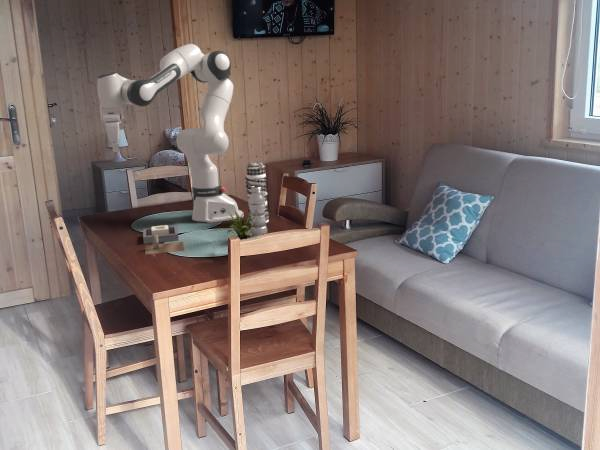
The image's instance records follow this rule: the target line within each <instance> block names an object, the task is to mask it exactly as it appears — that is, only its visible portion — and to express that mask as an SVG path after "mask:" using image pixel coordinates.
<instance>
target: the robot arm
mask: <svg viewBox="0 0 600 450" xmlns="http://www.w3.org/2000/svg"><path fill="white" fill-rule="evenodd" d="M231 61H232V60H231V58H230V55H228V54H227V52H226V51H222V50H214V51H212V52H210V53H209V52H208V53H207V54H204V53H203V52H202V50H201V49H200V47H199V46H198V45H196V44H193V43H188V44H184V45H181V46H179V47H177V48H175V49H173V50H171V51H169V52H168V53H167V54H165V55H164V56H163V57H162V58H161V59H160V61H159V69H160V71H159V72H157V73H155V74H154V75H152V76H151V77H149V78H148V79H139V80H138V79H137V80H135V79H133V80H132V79H129V78H126V77H124V76H121V75H120V74H118V73H117V72H115V71H111V72H106V73H102V74H101V75H99V76H98V78H97V82H96V84H97V85H96V87H97V96H98V100H99V113H100V116H99V117H100V120H101V121H102V122H103V123H104V126H105V131H106V135H107V140H108V142H111V147H112V152H113V153H118V151H119V149H120V145H119V141H120V140H119V139H120V137H121V129H120V124H122V120H124V119H125V117H124V116H125V115H124V105H131V106H138V107H147V106H148V105H151V104H152V103H153V101H154V100H155V98H156V97H157V95H159V94H160V92H162V91H163V90H164V89H166V88H167V87H169V86H170V85H172V84H173V83H174V82H175V81H177V80H179V79H181V78H184V77H185V76H187V74H189V73H190V74H191V76H192V77H193V78H194V79H195V80H196V81H197V82H199V83H207V84H208V85H207V86H208V88H207V91H206V93H205V96H204V98H203V101H202V104H201V107H200V109H199V116H200V118H201V119H202V121H203V125H202V127H201V128H196V127H194V128H193V127H190V128H185V129H182V130H180V131H179V132H178V134H177V136H176V146H177V148H178V149H179V151H181V152H182V153H183V155H184V156H185V158H186V160H187V162H188V165H189V168H190V171H191V179H192V180H191V181H192V187H191V193H192V199H193V211H192V216H191V220H192V221H194V222H203V223H209V224H210V223H217V222H225V221H228V220H229V221H231V220H232V221H233V219H232V217H231V216H230V215H229V214H228V213H230V214H231V215H232V216H233V218H234V220H237V218H236V213H235V211H236V212H237V214H238V215H239V216H240V217H241V216H242V218H243V217H244V215H245V213H244V212H243V211H242V210H240V209H239V207H238V203H237V201H235V199H233V198H232V197H230V196H229V195H227V194H226V193H225V192H226V187H224V186H222V185H220V184H219V173H218V168H217V165H216V164H214V163H213V162H212V160H211V158H210V157H209V156H217V155H220V154H222V155H223V154H224V153H226V151H227V150H228V149H229V146H230V145H229V144H230V143H229V142H230V140H229V137H228V135H227V133H226V132H225V127H224V126H225V125H224V124H225V120H226V117H227V113H228V110H229V108H230V105H231V102H232V98H233V94H234V87H235V86H234V83H233V82H232V80H231V79H229V78H230V77H231V75H232V74H231V73H232V72H231V71H232V69H231V68H232V62H231ZM227 212H228V213H227ZM242 212H243V213H242ZM242 214H243V215H242ZM227 217H228V218H227ZM229 218H230V219H231V220H230V219H229ZM226 219H227V220H226Z"/></svg>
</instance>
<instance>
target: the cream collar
mask: <svg viewBox="0 0 600 450" xmlns="http://www.w3.org/2000/svg"><path fill="white" fill-rule="evenodd" d="M168 227H169V225H168V224H165V225H156V226H151V228H152V236H153V235H167V234H169V229H168Z"/></svg>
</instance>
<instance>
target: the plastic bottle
mask: <svg viewBox="0 0 600 450" xmlns="http://www.w3.org/2000/svg"><path fill="white" fill-rule="evenodd" d="M251 192H252V194H251V196H250V197H249V196H248V200H247V202H248V203H247V204H248V206H249V208H250V212H249V213H251V219H252V218H253V217H254V216H255V215H257V214H258V215H257V216H255V217H254V219H253V220H252V221H251V223H250V226H254V227H252V228H250V230H249V233H250V235H252V238H253V237H254V236H258V235H262V234H266V233H267V234H268V227H267V223H266V222H265V198H264V197H263V195H262V194H261V187H260V186H254V187H251ZM249 208H248V209H249ZM254 228H256V229H254ZM252 229H254V230H252ZM251 230H252V231H251ZM250 231H251V232H250Z"/></svg>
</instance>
